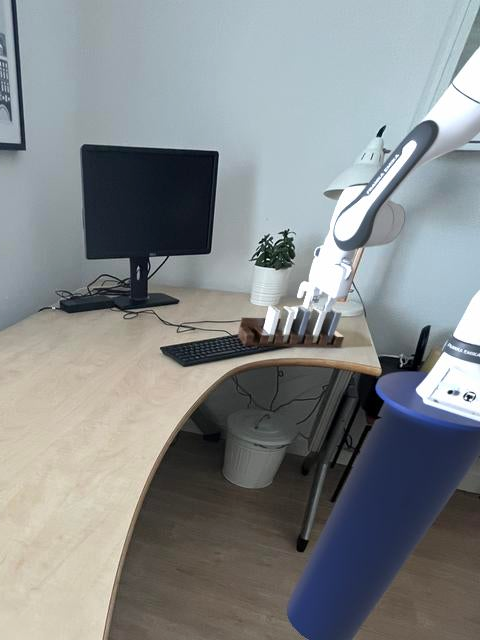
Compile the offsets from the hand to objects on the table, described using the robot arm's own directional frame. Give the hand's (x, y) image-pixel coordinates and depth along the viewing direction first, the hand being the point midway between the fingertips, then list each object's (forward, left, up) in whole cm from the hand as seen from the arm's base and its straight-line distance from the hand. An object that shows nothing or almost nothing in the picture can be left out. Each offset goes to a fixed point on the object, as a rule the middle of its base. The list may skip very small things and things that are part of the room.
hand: (320, 306), depth 131 cm
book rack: (+3, +6, -11) cm, 13 cm away
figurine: (+18, -19, -11) cm, 28 cm away
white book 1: (+7, +12, -10) cm, 17 cm away
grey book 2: (-3, -4, -10) cm, 11 cm away
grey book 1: (+2, +4, -10) cm, 11 cm away
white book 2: (+4, +8, -10) cm, 13 cm away
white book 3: (0, 0, -10) cm, 10 cm away
